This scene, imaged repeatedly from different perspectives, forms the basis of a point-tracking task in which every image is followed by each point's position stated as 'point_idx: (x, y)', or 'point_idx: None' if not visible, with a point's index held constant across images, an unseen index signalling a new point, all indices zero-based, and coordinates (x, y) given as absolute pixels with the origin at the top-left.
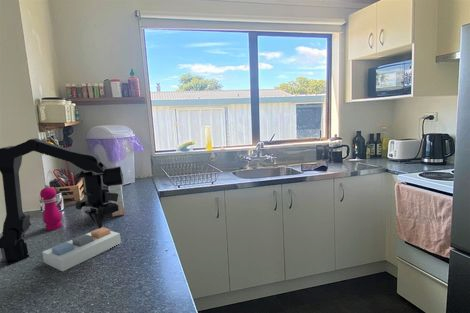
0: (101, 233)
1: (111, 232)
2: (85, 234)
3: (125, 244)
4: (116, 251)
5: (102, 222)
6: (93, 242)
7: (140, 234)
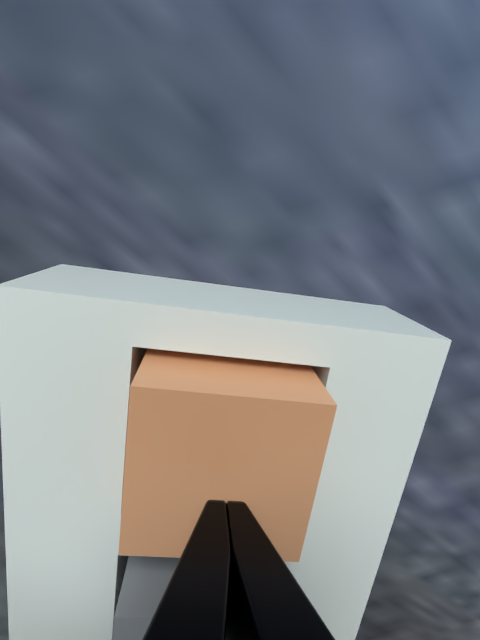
0: (307, 517)
1: (313, 354)
2: (133, 621)
3: (439, 307)
4: (442, 425)
5: (295, 585)
6: (314, 588)
7: (458, 40)
